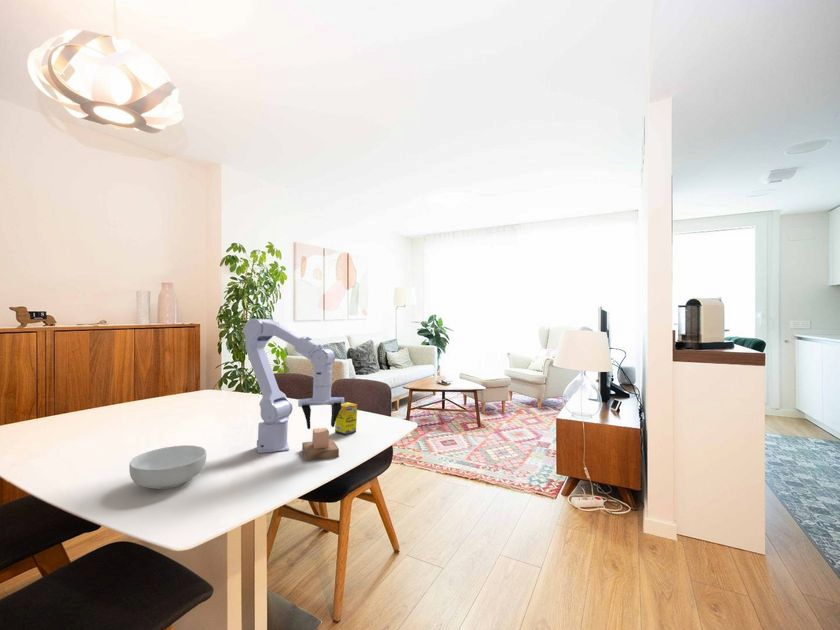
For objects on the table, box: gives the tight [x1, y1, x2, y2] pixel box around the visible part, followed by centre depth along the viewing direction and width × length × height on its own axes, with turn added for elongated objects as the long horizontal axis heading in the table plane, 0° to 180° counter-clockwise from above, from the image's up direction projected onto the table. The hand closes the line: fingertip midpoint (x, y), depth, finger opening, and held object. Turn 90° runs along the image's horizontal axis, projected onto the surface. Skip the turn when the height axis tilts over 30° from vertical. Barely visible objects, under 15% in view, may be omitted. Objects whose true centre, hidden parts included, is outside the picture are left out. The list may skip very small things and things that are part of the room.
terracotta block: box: [311, 427, 330, 449], centre depth 122 cm, size 4×4×5 cm
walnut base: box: [301, 439, 340, 462], centre depth 122 cm, size 10×10×2 cm
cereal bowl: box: [128, 445, 207, 490], centre depth 98 cm, size 17×17×7 cm
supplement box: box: [334, 401, 358, 436], centre depth 146 cm, size 6×6×11 cm
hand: (320, 427), depth 122 cm, fingers open, 7 cm apart
